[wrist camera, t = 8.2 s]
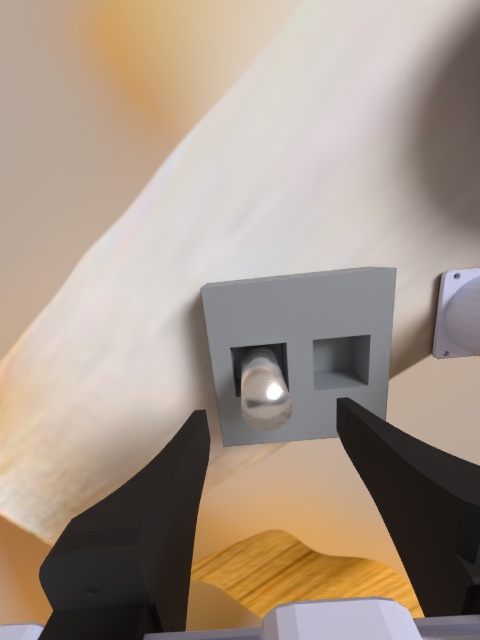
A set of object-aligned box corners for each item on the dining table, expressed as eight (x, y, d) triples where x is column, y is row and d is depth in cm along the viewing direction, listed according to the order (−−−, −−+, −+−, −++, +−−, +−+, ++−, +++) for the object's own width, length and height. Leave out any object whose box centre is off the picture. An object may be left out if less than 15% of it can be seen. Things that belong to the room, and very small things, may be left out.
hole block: (369, 266, 19) (396, 267, 16) (363, 408, 23) (384, 433, 20) (207, 283, 20) (200, 288, 16) (226, 419, 23) (223, 446, 20)
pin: (274, 338, 21) (293, 386, 13) (273, 368, 21) (292, 430, 14) (240, 338, 21) (240, 387, 13) (241, 368, 21) (241, 431, 14)
